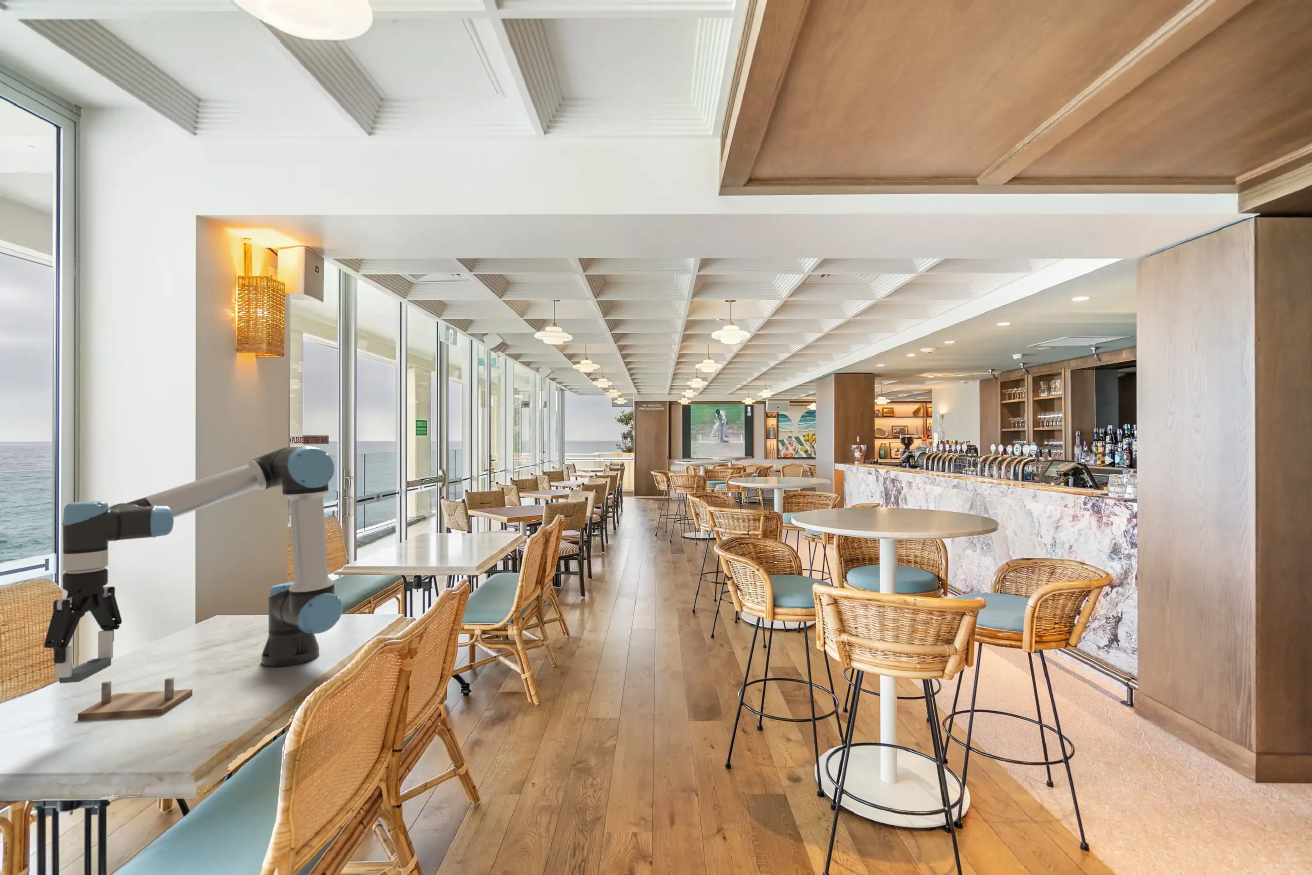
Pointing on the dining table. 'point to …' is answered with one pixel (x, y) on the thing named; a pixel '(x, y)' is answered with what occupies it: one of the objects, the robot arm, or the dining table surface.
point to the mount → (135, 702)
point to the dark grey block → (86, 670)
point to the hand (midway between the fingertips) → (85, 667)
